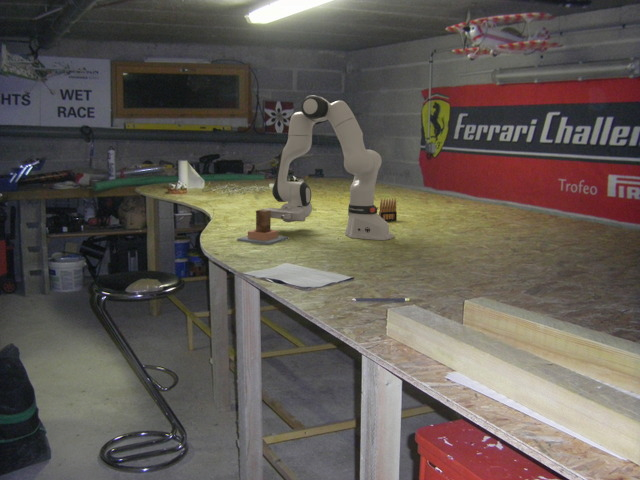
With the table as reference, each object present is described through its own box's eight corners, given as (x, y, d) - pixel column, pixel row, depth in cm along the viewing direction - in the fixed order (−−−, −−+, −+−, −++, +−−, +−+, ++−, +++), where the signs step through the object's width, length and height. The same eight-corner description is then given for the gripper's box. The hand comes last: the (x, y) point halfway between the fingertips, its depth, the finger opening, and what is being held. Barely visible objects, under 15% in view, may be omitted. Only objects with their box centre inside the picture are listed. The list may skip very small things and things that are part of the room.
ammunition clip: (394, 220, 335) (395, 198, 333) (396, 220, 333) (397, 198, 331) (378, 221, 330) (379, 198, 327) (380, 222, 328) (381, 199, 326)
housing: (288, 239, 276) (288, 230, 275) (268, 245, 262) (268, 235, 261) (258, 235, 283) (258, 226, 283) (237, 240, 269) (237, 231, 269)
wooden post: (270, 237, 274) (270, 210, 271) (264, 239, 270) (264, 211, 267) (261, 236, 276) (261, 209, 273) (256, 238, 272) (256, 210, 269)
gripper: (270, 203, 294) (253, 207, 282) (308, 207, 285) (293, 211, 273) (270, 217, 295) (253, 221, 283) (308, 221, 286) (292, 225, 274)
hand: (273, 216), depth 278 cm, fingers open, 8 cm apart
